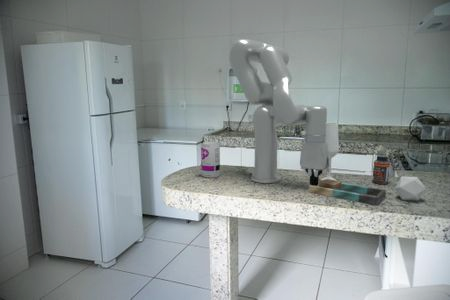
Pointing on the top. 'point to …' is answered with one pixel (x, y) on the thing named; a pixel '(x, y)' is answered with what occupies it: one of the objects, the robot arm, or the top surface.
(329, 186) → the walnut block
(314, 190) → the tray
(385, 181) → the supplement bottle
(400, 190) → the die
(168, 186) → the top surface
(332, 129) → the champagne flute
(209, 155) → the supplement can
